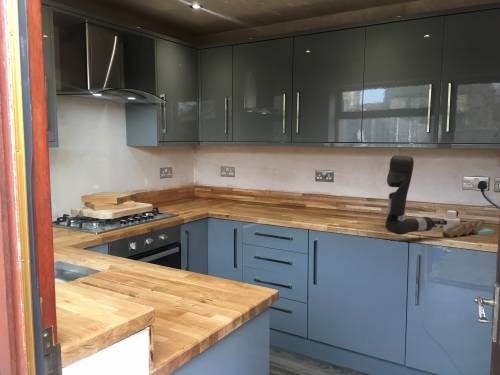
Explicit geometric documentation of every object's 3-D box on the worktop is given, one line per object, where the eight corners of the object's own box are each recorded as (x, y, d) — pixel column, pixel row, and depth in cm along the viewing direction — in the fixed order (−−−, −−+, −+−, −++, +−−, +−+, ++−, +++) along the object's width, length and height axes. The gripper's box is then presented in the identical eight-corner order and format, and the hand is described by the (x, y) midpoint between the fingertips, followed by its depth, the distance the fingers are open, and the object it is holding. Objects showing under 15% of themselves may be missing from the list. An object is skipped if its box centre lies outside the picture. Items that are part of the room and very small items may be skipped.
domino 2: (449, 231, 228) (463, 222, 233) (450, 235, 229) (464, 225, 233) (457, 233, 224) (471, 223, 228) (458, 237, 225) (472, 227, 229)
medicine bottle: (446, 228, 246) (447, 208, 244) (459, 230, 241) (460, 210, 240) (443, 230, 240) (444, 210, 239) (456, 232, 236) (457, 211, 234)
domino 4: (465, 228, 234) (475, 219, 241) (466, 232, 235) (475, 223, 241) (474, 229, 230) (484, 220, 237) (475, 233, 231) (484, 223, 237)
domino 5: (471, 229, 236) (486, 228, 240) (470, 233, 236) (485, 232, 240) (478, 231, 231) (494, 230, 235) (478, 235, 231) (493, 234, 236)
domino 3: (457, 230, 231) (467, 220, 237) (458, 234, 232) (468, 224, 238) (466, 231, 227) (476, 221, 233) (467, 235, 227) (477, 225, 234)
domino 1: (442, 232, 226) (457, 222, 230) (443, 235, 226) (457, 226, 231) (450, 234, 221) (465, 224, 226) (451, 237, 222) (465, 228, 226)
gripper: (431, 219, 211) (456, 217, 217) (412, 215, 223) (436, 213, 229) (430, 234, 212) (455, 231, 218) (411, 228, 224) (435, 226, 230)
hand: (445, 222), depth 224 cm, fingers closed
